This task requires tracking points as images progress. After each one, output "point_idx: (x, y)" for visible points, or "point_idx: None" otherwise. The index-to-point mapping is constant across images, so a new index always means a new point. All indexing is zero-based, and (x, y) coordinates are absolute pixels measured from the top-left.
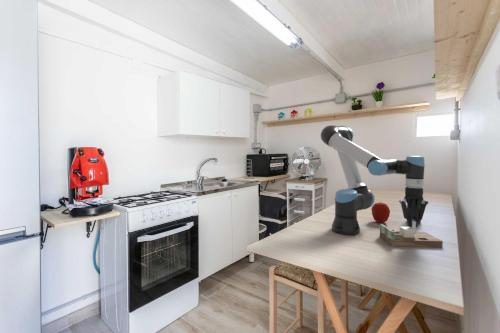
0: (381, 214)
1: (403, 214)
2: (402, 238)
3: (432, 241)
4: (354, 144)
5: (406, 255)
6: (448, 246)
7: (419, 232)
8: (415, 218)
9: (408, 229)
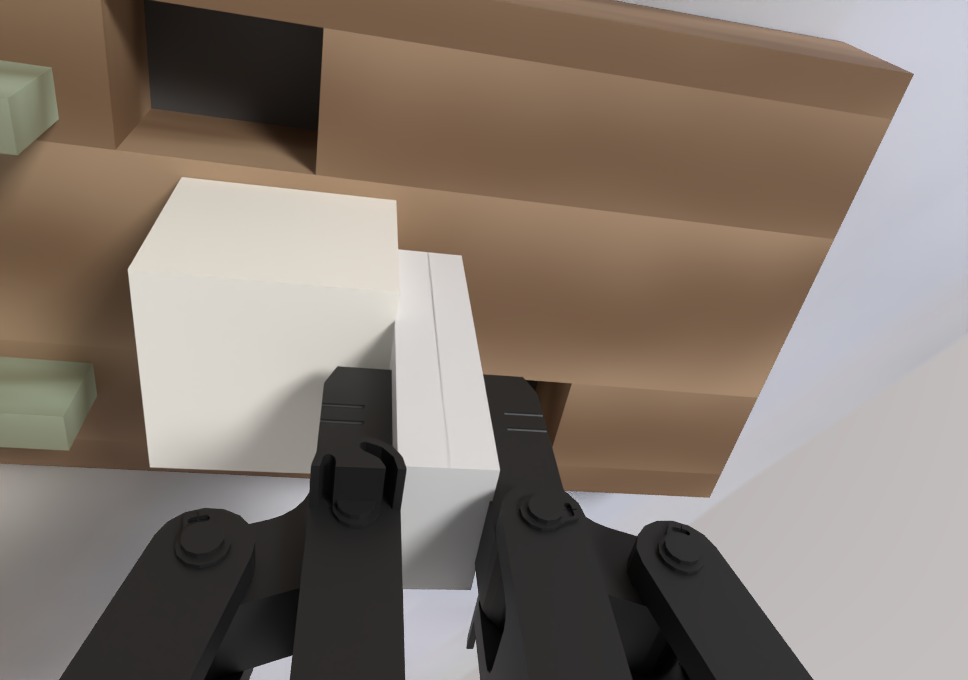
0: None
1: (72, 673)
2: (121, 394)
3: (567, 482)
4: None
5: (31, 602)
6: (782, 414)
7: (748, 106)
8: (481, 652)
9: (246, 466)
